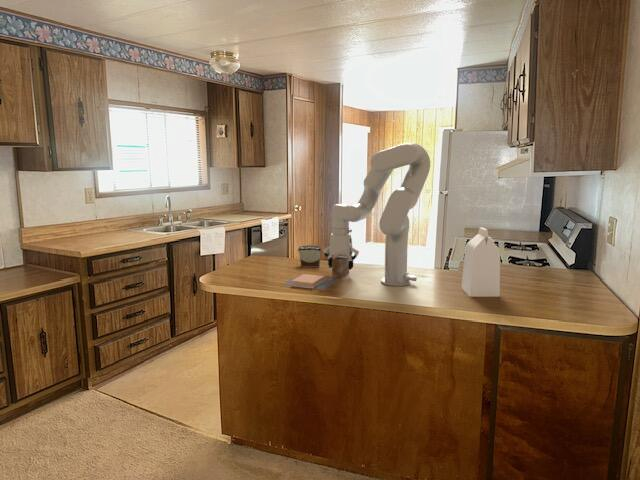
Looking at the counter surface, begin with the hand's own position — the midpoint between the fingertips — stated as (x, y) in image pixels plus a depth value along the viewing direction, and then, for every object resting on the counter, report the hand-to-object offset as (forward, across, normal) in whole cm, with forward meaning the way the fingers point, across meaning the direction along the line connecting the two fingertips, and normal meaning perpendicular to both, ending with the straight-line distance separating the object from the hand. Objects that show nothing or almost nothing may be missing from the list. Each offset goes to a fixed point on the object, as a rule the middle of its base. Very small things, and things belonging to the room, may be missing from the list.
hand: (340, 268), depth 208 cm
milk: (+4, -61, +2) cm, 61 cm away
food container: (+4, +22, -15) cm, 27 cm away
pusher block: (+4, 0, 0) cm, 4 cm away
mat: (+4, +8, +16) cm, 18 cm away
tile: (+2, +8, +12) cm, 15 cm away
